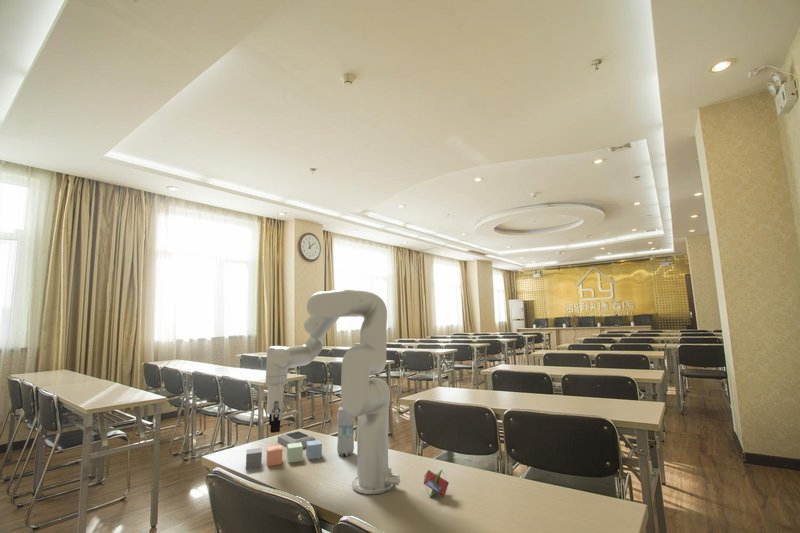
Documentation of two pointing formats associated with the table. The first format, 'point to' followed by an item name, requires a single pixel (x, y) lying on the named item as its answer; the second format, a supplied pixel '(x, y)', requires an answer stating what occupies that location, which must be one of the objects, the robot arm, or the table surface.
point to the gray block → (253, 458)
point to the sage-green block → (294, 452)
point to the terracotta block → (274, 455)
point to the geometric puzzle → (435, 482)
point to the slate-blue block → (313, 449)
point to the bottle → (345, 432)
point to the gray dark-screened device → (295, 438)
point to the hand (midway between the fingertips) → (274, 428)
